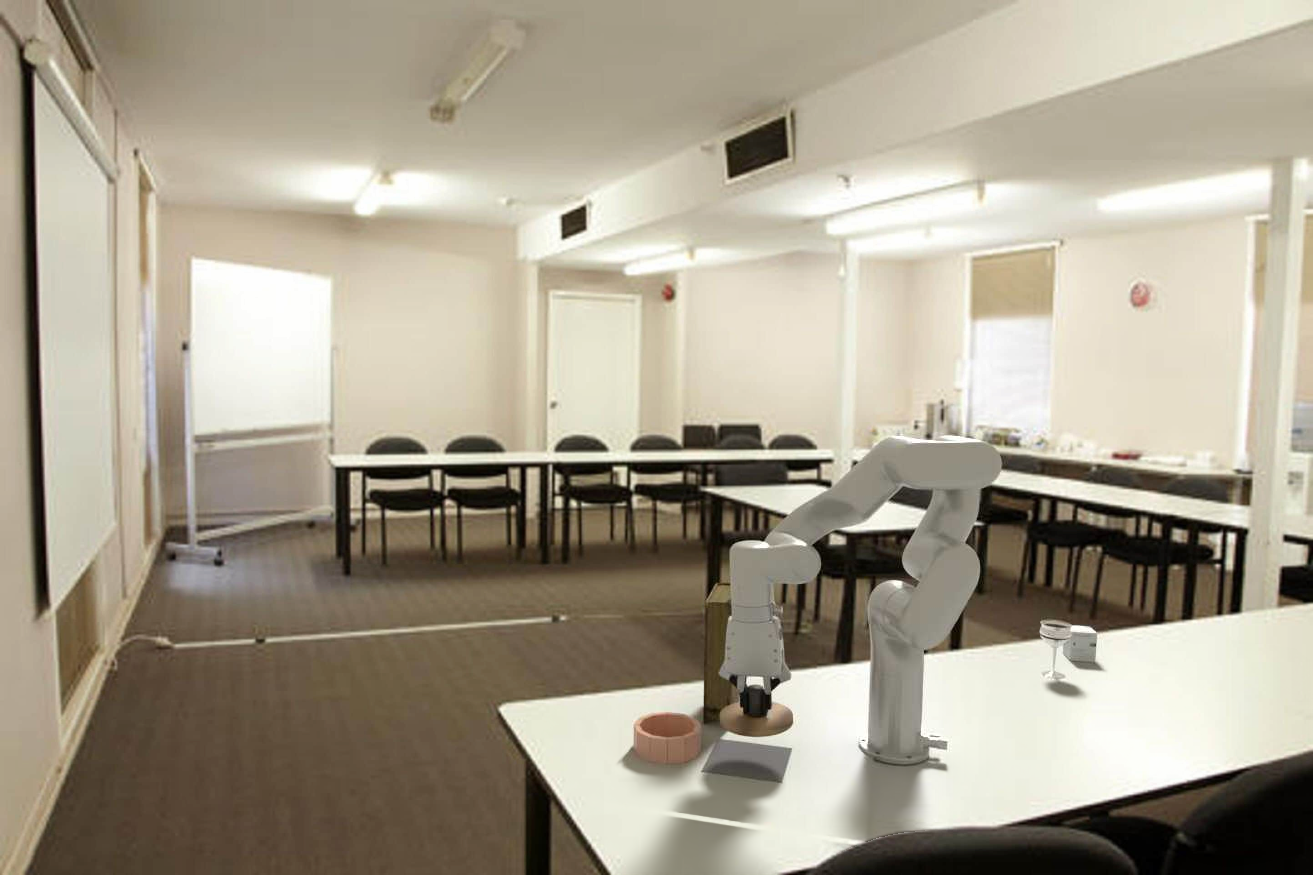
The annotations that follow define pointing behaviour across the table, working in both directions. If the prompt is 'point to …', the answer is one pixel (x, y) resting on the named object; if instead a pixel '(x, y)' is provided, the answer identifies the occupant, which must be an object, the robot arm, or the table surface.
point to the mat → (748, 760)
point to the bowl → (667, 737)
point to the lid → (756, 717)
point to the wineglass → (1055, 640)
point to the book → (717, 654)
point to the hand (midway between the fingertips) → (756, 711)
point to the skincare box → (1081, 644)
